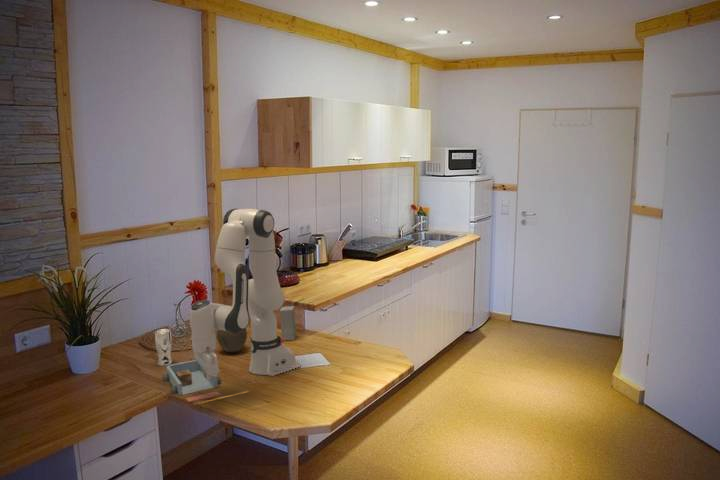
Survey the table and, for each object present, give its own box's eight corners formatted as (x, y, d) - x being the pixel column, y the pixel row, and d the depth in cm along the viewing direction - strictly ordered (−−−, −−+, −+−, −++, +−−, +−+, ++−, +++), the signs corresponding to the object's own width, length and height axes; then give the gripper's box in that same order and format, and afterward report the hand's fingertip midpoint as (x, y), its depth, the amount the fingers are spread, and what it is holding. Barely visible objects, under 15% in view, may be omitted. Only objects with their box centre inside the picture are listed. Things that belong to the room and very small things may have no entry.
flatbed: (207, 370, 248) (206, 357, 247) (222, 389, 229) (222, 374, 228) (161, 380, 238) (160, 366, 237) (173, 400, 219) (172, 385, 218)
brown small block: (188, 379, 235) (188, 369, 234) (192, 384, 230) (191, 373, 230) (176, 382, 232) (175, 371, 231) (179, 386, 228) (178, 376, 227)
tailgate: (214, 388, 227) (219, 394, 220) (214, 391, 227) (220, 396, 220) (183, 395, 221) (188, 401, 214) (183, 398, 221) (188, 403, 214)
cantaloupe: (252, 352, 270) (251, 321, 267) (224, 358, 262) (222, 327, 260) (241, 343, 281) (239, 314, 279) (213, 349, 274) (211, 319, 271)
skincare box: (294, 340, 285) (293, 310, 283) (280, 340, 285) (279, 310, 283) (296, 335, 293) (295, 305, 291) (282, 335, 294) (281, 305, 291)
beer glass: (168, 366, 253) (165, 334, 250) (153, 365, 254) (151, 333, 252) (176, 360, 260) (174, 329, 257) (162, 359, 261) (159, 328, 259)
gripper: (221, 350, 208) (224, 385, 211) (204, 334, 226) (208, 367, 228) (204, 354, 205) (207, 390, 208) (188, 338, 222) (192, 371, 225)
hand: (207, 378), depth 218 cm, fingers closed
